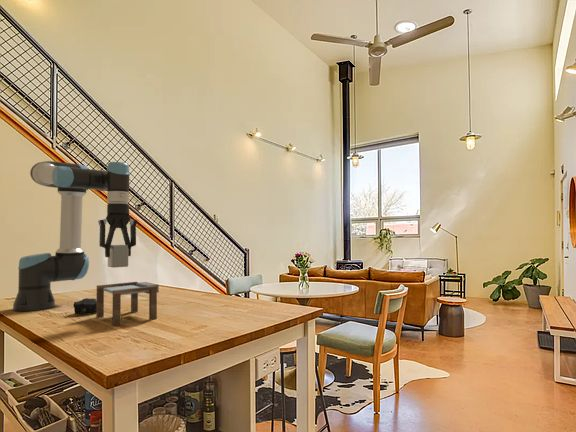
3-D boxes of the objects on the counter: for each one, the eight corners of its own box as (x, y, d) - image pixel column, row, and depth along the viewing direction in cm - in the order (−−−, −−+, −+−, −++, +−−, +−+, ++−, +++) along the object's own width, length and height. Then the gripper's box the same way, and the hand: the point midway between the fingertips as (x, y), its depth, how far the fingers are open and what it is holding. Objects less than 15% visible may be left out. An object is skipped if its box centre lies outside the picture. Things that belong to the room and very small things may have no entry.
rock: (81, 310, 156) (81, 296, 157) (104, 309, 158) (104, 295, 158) (73, 316, 146) (72, 301, 147) (97, 314, 148) (97, 300, 148)
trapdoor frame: (96, 317, 143) (96, 285, 144) (135, 311, 154) (135, 281, 154) (114, 326, 129) (114, 291, 129) (156, 318, 139) (156, 286, 139)
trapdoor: (104, 293, 143) (104, 285, 143) (144, 288, 154) (144, 281, 154) (118, 298, 132) (118, 289, 132) (160, 292, 143) (160, 284, 143)
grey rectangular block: (108, 266, 140) (108, 245, 141) (122, 265, 144) (122, 244, 144) (113, 267, 136) (113, 245, 136) (127, 266, 139) (127, 245, 140)
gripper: (95, 201, 132) (95, 268, 131) (146, 203, 144) (146, 264, 143) (89, 203, 137) (88, 266, 136) (138, 205, 150) (138, 263, 149)
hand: (118, 265), depth 140 cm, fingers closed on grey rectangular block, 5 cm apart
